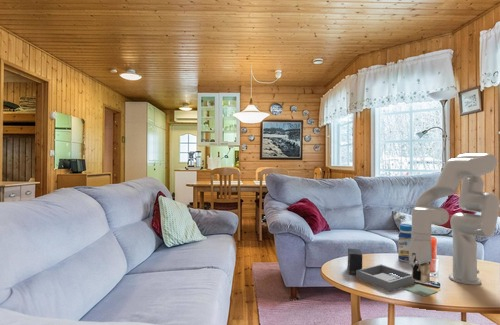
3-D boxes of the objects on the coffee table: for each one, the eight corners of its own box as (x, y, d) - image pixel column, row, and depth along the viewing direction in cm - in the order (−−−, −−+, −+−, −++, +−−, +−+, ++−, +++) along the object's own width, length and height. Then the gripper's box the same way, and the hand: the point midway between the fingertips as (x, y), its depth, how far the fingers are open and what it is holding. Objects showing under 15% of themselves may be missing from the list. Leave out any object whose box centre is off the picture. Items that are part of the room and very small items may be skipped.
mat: (417, 284, 145) (417, 284, 145) (438, 291, 137) (438, 291, 137) (404, 289, 140) (404, 288, 140) (424, 296, 132) (424, 296, 132)
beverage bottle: (417, 262, 179) (418, 226, 179) (404, 262, 177) (404, 226, 177) (407, 257, 187) (407, 223, 187) (394, 258, 186) (394, 223, 186)
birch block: (418, 277, 142) (418, 261, 142) (429, 281, 138) (429, 264, 138) (411, 279, 139) (411, 263, 140) (422, 283, 135) (423, 266, 135)
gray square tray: (380, 272, 162) (380, 264, 162) (414, 283, 146) (414, 275, 146) (356, 278, 153) (356, 270, 153) (389, 291, 137) (389, 282, 137)
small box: (363, 276, 156) (363, 254, 157) (349, 274, 158) (349, 253, 158) (360, 268, 167) (360, 248, 167) (347, 268, 168) (347, 248, 168)
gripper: (424, 232, 146) (423, 272, 146) (401, 236, 138) (400, 279, 137) (441, 236, 140) (440, 278, 140) (417, 240, 131) (417, 284, 131)
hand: (420, 278), depth 139 cm, fingers closed on birch block, 5 cm apart
